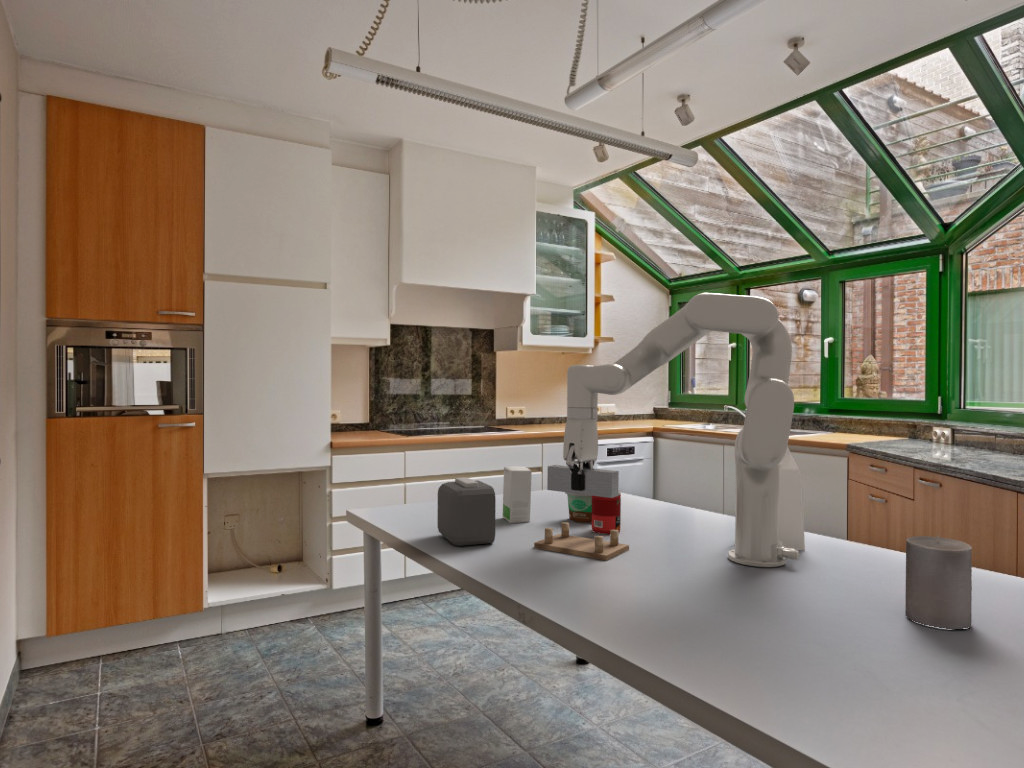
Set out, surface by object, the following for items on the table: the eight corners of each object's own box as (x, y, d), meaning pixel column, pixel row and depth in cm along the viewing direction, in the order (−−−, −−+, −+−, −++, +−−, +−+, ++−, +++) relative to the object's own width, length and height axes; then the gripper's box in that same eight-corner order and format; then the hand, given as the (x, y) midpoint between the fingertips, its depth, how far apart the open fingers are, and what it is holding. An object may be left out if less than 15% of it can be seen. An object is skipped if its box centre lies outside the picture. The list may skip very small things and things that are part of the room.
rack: (629, 549, 160) (629, 530, 160) (606, 560, 150) (606, 540, 150) (559, 538, 172) (559, 520, 172) (534, 547, 162) (534, 528, 162)
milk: (789, 539, 172) (790, 440, 172) (804, 550, 161) (805, 444, 161) (743, 537, 173) (743, 440, 173) (754, 548, 162) (755, 444, 162)
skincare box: (502, 517, 197) (502, 466, 197) (522, 516, 199) (523, 465, 199) (510, 523, 189) (510, 470, 189) (531, 522, 191) (532, 469, 191)
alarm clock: (495, 545, 164) (495, 483, 164) (451, 549, 160) (452, 486, 160) (474, 531, 179) (475, 474, 179) (434, 534, 175) (434, 476, 175)
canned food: (622, 534, 176) (622, 493, 176) (592, 534, 177) (593, 493, 177) (618, 528, 184) (618, 489, 184) (590, 527, 184) (590, 488, 184)
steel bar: (547, 490, 165) (547, 466, 165) (554, 488, 167) (554, 464, 167) (611, 498, 154) (612, 472, 154) (618, 495, 157) (618, 471, 157)
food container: (560, 522, 191) (560, 488, 191) (565, 518, 197) (565, 485, 197) (602, 525, 188) (602, 490, 188) (605, 520, 194) (606, 487, 193)
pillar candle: (910, 607, 120) (909, 526, 120) (974, 619, 114) (974, 533, 114) (900, 622, 113) (900, 536, 112) (969, 636, 106) (969, 545, 106)
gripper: (585, 413, 170) (584, 483, 170) (551, 415, 156) (550, 492, 156) (611, 414, 165) (610, 486, 165) (578, 416, 152) (578, 495, 152)
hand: (581, 488), depth 161 cm, fingers closed on steel bar, 3 cm apart
